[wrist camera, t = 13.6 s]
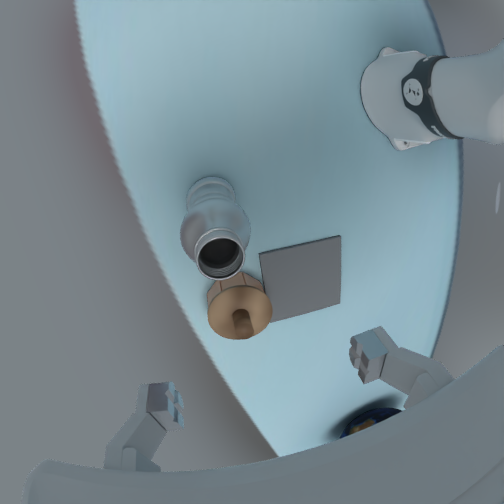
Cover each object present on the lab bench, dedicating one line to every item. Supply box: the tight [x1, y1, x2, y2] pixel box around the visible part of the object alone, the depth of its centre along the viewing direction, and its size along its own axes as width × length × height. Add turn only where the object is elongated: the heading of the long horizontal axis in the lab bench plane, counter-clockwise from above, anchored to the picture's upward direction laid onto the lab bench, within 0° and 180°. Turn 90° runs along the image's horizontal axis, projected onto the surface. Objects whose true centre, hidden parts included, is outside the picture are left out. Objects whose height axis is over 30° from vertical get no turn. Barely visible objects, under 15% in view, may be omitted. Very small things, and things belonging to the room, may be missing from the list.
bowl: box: [207, 272, 265, 307], centre depth 43 cm, size 9×9×4 cm
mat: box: [259, 235, 341, 323], centre depth 46 cm, size 14×14×1 cm
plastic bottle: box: [180, 177, 251, 280], centre depth 29 cm, size 6×7×20 cm
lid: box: [207, 285, 273, 339], centre depth 39 cm, size 10×10×5 cm
